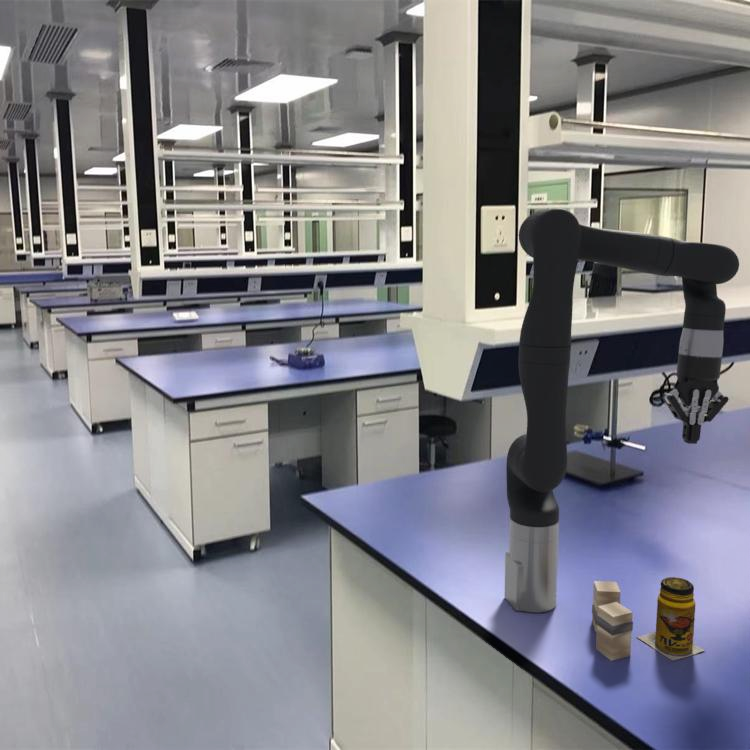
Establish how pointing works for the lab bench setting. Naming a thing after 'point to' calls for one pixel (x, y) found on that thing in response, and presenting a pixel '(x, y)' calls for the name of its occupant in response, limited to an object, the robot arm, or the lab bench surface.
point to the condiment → (674, 620)
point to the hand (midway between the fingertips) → (690, 442)
